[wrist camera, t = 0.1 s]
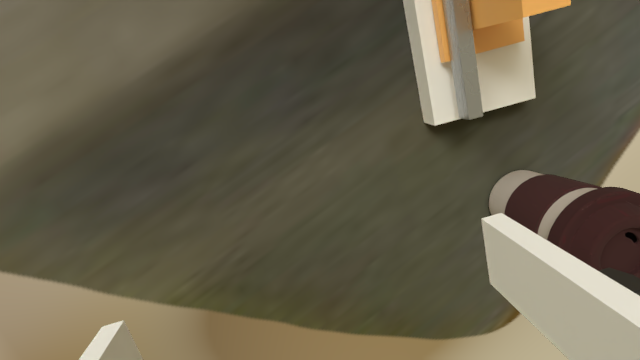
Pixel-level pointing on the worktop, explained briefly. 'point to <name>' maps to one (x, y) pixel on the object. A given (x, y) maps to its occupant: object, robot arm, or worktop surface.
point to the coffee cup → (574, 217)
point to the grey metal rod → (463, 58)
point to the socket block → (493, 68)
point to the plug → (493, 22)
